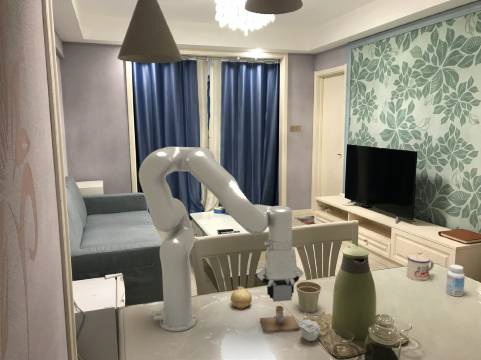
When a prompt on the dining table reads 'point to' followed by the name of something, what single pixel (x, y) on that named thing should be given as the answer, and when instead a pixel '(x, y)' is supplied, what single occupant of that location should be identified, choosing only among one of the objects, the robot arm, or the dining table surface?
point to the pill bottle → (455, 280)
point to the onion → (241, 298)
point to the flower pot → (308, 295)
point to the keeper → (279, 322)
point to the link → (281, 290)
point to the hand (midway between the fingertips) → (280, 295)
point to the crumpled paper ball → (309, 330)
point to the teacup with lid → (419, 266)
